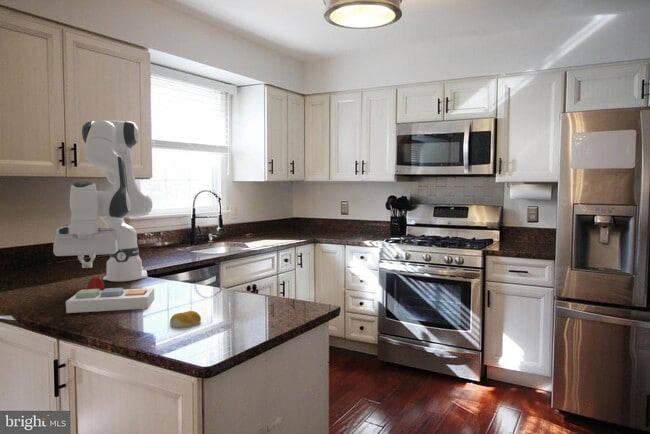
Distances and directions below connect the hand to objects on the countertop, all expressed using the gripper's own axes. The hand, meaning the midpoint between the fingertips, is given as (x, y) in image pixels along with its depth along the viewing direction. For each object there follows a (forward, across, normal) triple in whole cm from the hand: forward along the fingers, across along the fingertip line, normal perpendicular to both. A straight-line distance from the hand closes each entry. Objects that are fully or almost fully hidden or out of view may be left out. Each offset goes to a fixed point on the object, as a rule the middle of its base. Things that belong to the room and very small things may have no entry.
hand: (87, 267), depth 163 cm
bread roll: (+14, -35, +28) cm, 47 cm away
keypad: (+14, -8, 0) cm, 16 cm away
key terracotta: (+12, -16, 0) cm, 20 cm away
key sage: (+11, 0, 0) cm, 11 cm away
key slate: (+11, -8, 0) cm, 14 cm away
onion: (+14, +2, -17) cm, 22 cm away
